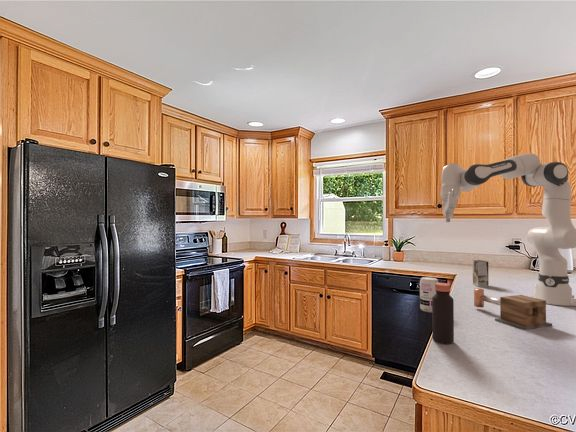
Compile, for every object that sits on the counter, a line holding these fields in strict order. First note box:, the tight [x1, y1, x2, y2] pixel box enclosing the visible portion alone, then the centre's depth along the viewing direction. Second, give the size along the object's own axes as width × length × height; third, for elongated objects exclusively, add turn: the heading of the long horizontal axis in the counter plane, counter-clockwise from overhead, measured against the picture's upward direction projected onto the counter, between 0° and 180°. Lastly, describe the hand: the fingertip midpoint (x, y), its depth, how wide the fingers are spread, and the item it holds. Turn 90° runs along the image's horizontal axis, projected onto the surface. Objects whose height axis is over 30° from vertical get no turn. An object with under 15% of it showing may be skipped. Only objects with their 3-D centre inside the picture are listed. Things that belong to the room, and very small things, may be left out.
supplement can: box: [419, 276, 440, 313], centre depth 148 cm, size 8×8×15 cm
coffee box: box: [472, 259, 489, 288], centre depth 203 cm, size 9×6×16 cm
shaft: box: [473, 288, 500, 308], centre depth 142 cm, size 4×20×8 cm, turn 18°
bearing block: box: [494, 294, 553, 331], centre depth 130 cm, size 16×12×10 cm
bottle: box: [431, 282, 455, 345], centre depth 111 cm, size 7×7×20 cm
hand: (449, 219), depth 159 cm, fingers open, 8 cm apart
